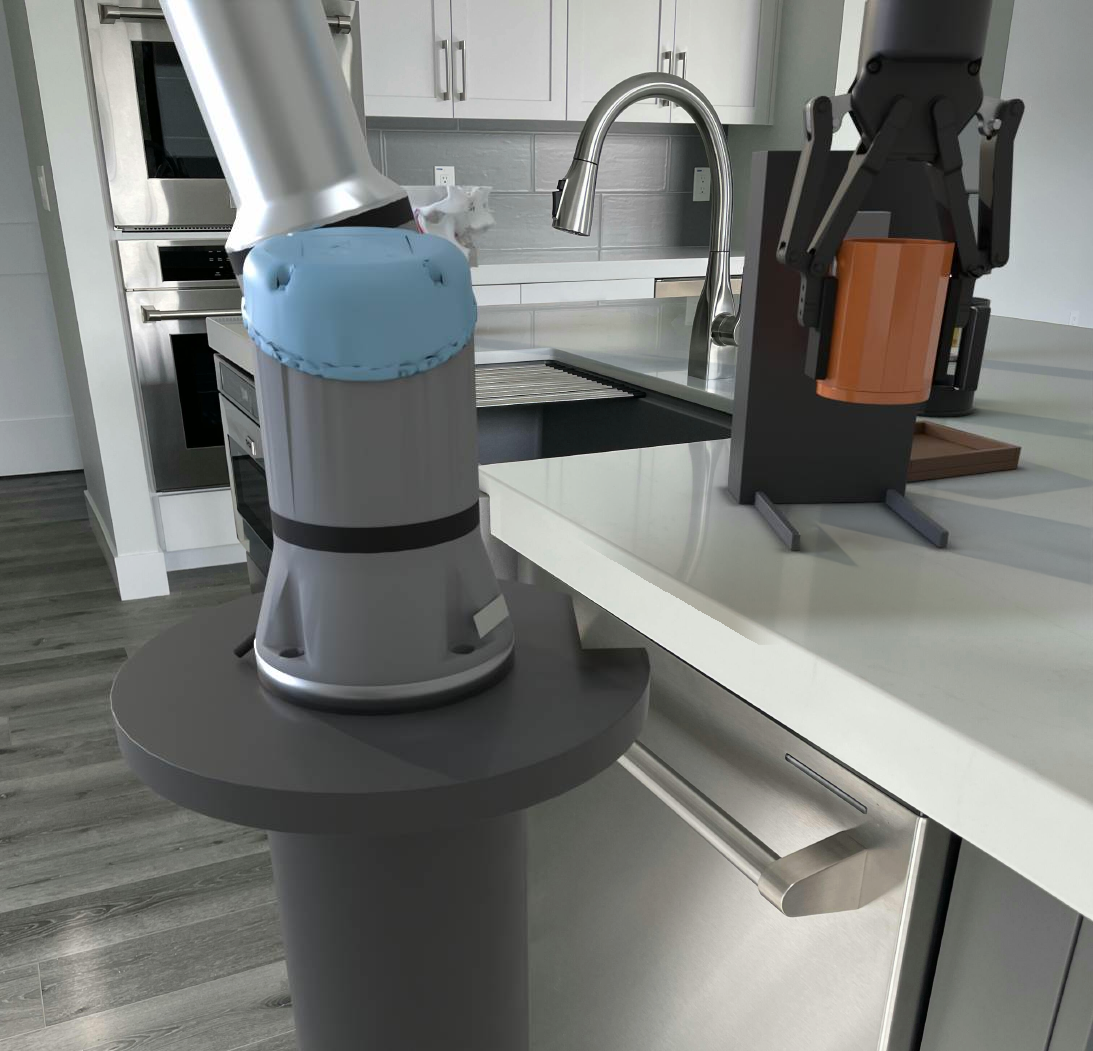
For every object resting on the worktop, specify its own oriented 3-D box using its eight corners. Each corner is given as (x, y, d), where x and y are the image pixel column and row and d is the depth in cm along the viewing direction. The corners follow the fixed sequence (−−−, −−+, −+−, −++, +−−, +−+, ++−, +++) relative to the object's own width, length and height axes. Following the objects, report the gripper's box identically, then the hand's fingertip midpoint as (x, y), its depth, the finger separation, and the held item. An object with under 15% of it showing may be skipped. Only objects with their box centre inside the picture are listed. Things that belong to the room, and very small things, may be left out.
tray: (903, 482, 96) (906, 460, 95) (815, 451, 106) (817, 431, 106) (1017, 468, 100) (1021, 446, 99) (921, 440, 111) (925, 420, 110)
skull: (344, 340, 179) (331, 186, 168) (369, 326, 196) (359, 185, 185) (493, 341, 177) (490, 186, 167) (506, 327, 194) (503, 184, 183)
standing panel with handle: (774, 550, 79) (814, 146, 67) (726, 488, 94) (752, 151, 82) (962, 547, 79) (1035, 145, 67) (884, 486, 95) (932, 151, 83)
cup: (833, 404, 73) (854, 243, 68) (803, 385, 80) (820, 237, 75) (946, 404, 73) (974, 244, 69) (906, 385, 80) (929, 238, 76)
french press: (870, 403, 129) (898, 188, 118) (936, 398, 131) (970, 187, 121) (929, 422, 119) (966, 189, 108) (1000, 416, 121) (1043, 189, 111)
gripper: (1065, 1, 70) (994, 368, 80) (748, -5, 69) (719, 368, 79) (1126, -18, 63) (1041, 386, 73) (777, -25, 62) (740, 385, 72)
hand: (874, 376), depth 76 cm, fingers closed on cup, 8 cm apart
